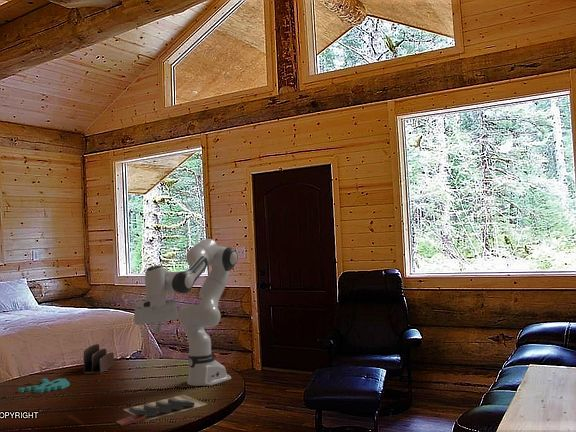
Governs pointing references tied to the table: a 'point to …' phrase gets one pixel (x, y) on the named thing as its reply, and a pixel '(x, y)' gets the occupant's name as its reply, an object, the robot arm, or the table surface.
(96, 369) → the letter holder
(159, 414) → the birch board
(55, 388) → the alien figure
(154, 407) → the domino
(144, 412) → the domino
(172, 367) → the table surface
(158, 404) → the domino
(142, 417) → the red domino
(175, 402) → the domino
